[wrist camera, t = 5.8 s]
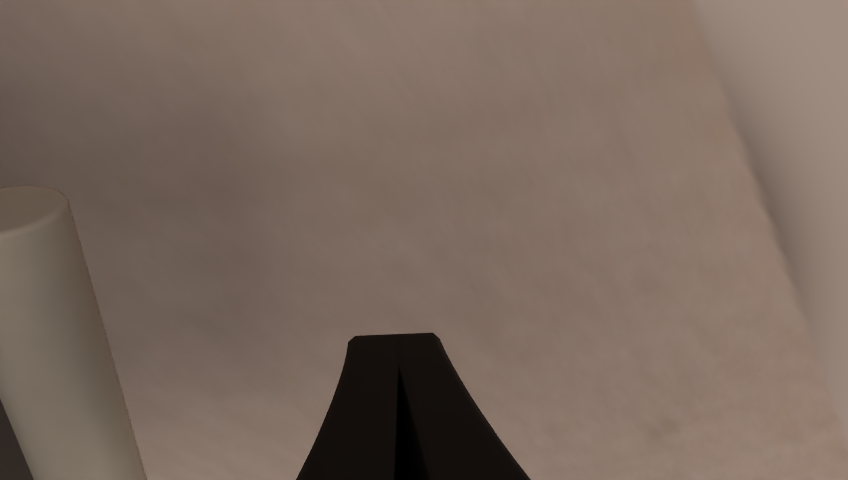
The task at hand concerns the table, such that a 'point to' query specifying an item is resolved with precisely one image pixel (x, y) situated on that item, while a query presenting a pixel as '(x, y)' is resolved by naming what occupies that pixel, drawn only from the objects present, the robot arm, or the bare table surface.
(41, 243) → the drawer
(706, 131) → the table surface
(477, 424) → the robot arm
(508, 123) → the table surface
